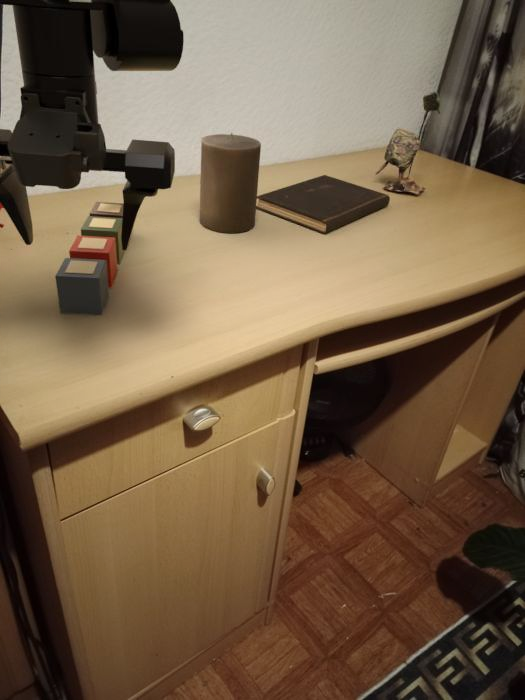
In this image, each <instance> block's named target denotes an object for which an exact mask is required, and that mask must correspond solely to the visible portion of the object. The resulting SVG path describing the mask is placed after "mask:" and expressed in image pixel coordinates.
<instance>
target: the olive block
mask: <svg viewBox="0 0 525 700" xmlns="http://www.w3.org/2000/svg"><path fill="white" fill-rule="evenodd" d="M122 219H123V218H111V217H95V216H90V215H88V216H87V217H86V219H85V221H84V223H83V224H82V226H81V228H80V236H95V237H112V238H116V253H117V265H121V263H122V260H123V257H124V253H125V250H122V240H121V234H122Z"/></svg>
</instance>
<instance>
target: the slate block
mask: <svg viewBox="0 0 525 700" xmlns="http://www.w3.org/2000/svg"><path fill="white" fill-rule="evenodd" d="M55 285H56V292H57V299H58V300H57V301H58V306H59V313H60V314H74V315H75V314H76V315H99V316H100V315H101V316H103V314H104V311H105V308H106V305H107V302H108V300H109V296H110V289H109V288H110V287H108V274H107V261H106V260H95V259H78V258H70V257H65V258H64V259H63V261H62V263H61V265H60V266H59V268H58V270H57V272H56V274H55Z"/></svg>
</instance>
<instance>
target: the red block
mask: <svg viewBox="0 0 525 700" xmlns="http://www.w3.org/2000/svg"><path fill="white" fill-rule="evenodd" d="M68 253H69V258H78V259H95V260H106V261H107V274H108V287H109V288H113V285H114V282H115V280H116V277H117V273H118V270H119V269H118V268H119V267H118V264H117V253H116V238H112V237H95V236H81V235H76V238H75V239H74V241H73V243H72V245H71V246H70V248H69V250H68Z"/></svg>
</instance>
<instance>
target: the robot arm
mask: <svg viewBox="0 0 525 700" xmlns="http://www.w3.org/2000/svg"><path fill="white" fill-rule="evenodd" d="M0 6H12V12H13V17H14V24H15V31H16V32H15V33H16V39H17V46H18V53H19V59H20V67H21V75H22V82H23V86H21V87H19V89H20V102H21V103H20V104H21V110H20V115H19V119H18V120H17V122H15V126H14V128H13V130H11V129H5V128H0V205H1V206H2V207H3V209H4V210H5V212H6V213H7V215H8V217H9V219H10V221H11V222H12V224H13V225H14V227H15V229H16V230H17V232H18V234H19V235H20V237H21V239H22V240H23V242H24V244H25V245H26V246H31V245H32V244H33V242H34V231H33V229H34V228H33V220H32V213H31V209H30V203H29V197H28V191H27V187H29V188H34V187H36V186H45V187H55V188H58V189H60V190H72V189H75V188H77V187H78V186H79V185H80V184H81V180H82V173H86V174H87V173H89V172H90V171H92V172H93V171H94V172H102V171H103V172H115V173H124V179H125V180H126V182H125V185H124V186H123V188H122V199H123V219H122V234H121V240H122V250H125V251H128V248H129V244H130V240H131V237H132V234H133V230H134V227H135V223H136V221H137V216H138V213H139V210H140V208H141V206H142V205H143V204H142V203H143V202H144V200H145V198H147V197H150V198H151V197H155V196H157V194H158V193H159V192H158V191H159V190H168V189H171V188H172V184H173V180H174V175H175V172H176V163H175V162H176V151H175V148H174V147H173V146H172V145H171V143H170V142H168V141H159V140H158V141H156V140H147V139H146V140H145V139H132V140H131V141H130V143H129V145H128V146H127V148H126V149H116V148H115V149H113V148H107V144H106V137H105V134H104V131H103V127H102V125H101V123H99V111H98V98H97V95H98V88H97V81H96V74H95V73H96V72H95V71H96V70H95V59H94V56H96V57H97V58H99V59H102V61H103V64H105V66H106V68H108V69H109V70H110V71H111V72H171V71H174V70H175V69H177V67H178V66H179V65H180V62H181V59H182V57H183V52H184V51H183V50H184V42H185V41H184V30H183V29H182V27H181V20H180V17H179V14H178V11H177V8H176V6H175V5H174V3H173V2H172V0H0ZM94 54H95V55H94ZM125 251H124V252H125Z"/></svg>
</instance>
